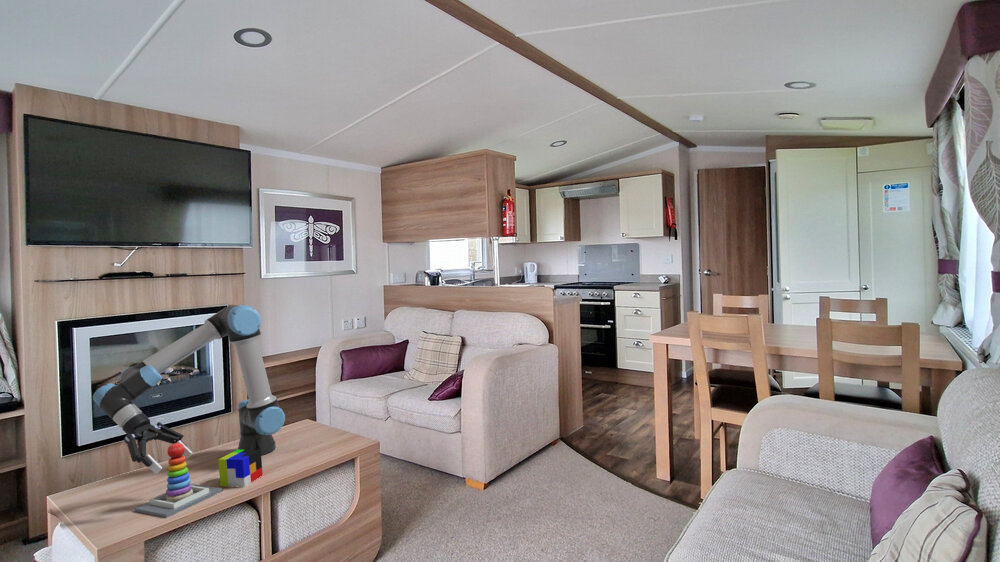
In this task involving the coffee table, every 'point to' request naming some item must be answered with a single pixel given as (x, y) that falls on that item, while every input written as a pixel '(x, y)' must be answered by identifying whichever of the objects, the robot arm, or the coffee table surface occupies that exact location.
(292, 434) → the coffee table surface
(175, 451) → the stacking toy
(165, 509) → the board
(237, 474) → the puzzle toy
